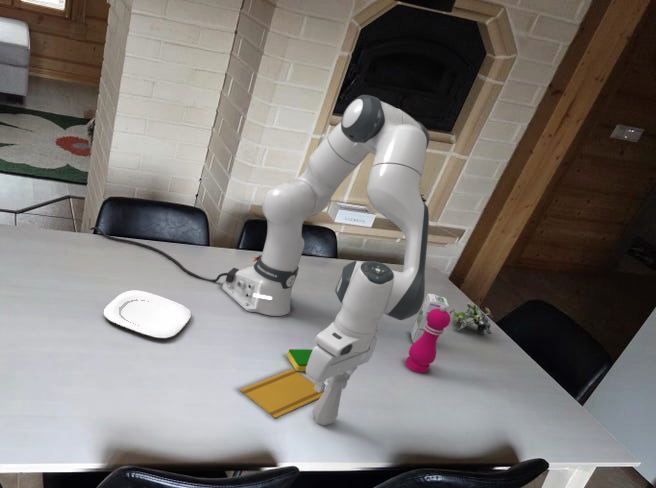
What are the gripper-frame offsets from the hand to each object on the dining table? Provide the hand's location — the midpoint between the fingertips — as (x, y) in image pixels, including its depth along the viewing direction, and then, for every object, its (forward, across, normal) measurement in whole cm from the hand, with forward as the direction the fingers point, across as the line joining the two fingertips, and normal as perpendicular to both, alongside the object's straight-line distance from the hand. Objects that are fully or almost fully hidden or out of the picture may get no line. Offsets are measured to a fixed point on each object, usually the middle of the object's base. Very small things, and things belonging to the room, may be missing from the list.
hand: (331, 384), depth 148 cm
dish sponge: (+11, -18, -16) cm, 27 cm away
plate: (+11, +10, -54) cm, 56 cm away
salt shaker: (+10, -1, +1) cm, 10 cm away
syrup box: (+10, -61, -10) cm, 63 cm away
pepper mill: (+10, -46, -2) cm, 48 cm away
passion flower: (+10, -83, -6) cm, 84 cm away
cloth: (+10, 0, -11) cm, 15 cm away
